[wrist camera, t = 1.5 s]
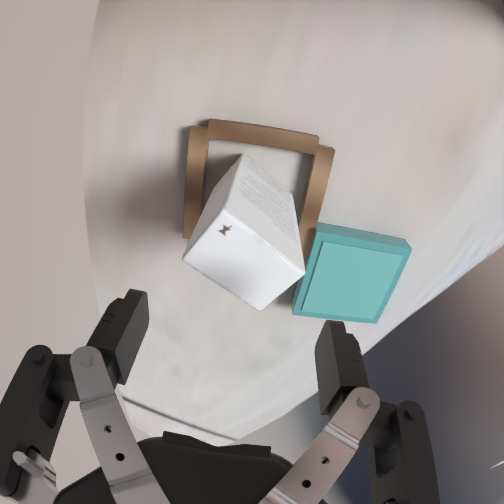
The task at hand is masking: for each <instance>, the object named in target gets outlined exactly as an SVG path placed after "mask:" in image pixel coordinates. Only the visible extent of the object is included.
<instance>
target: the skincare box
mask: <svg viewBox="0 0 504 504" xmlns="http://www.w3.org/2000/svg"><path fill="white" fill-rule="evenodd" d="M182 260H183V261H184V262H185V263H187V264H188V265H190V266H191V267H193V268H194V269H196V270H197V271H199V272H200V273H202V274H203V275H205V276H206V277H208V278H209V279H211V280H212V281H214V282H215V283H217V284H218V285H220V286H221V287H223V288H224V289H226V290H227V291H229V292H230V293H232V294H234V295H235V296H237V297H238V298H240V299H241V300H243V301H244V302H246V303H247V304H249V305H250V306H252V307H253V308H255V309H256V310H258V311H261V310H262V309H263V308H264V307H265V306H266V305H268V304H269V303H270V302H271V301H273V300H274V299H275V298H276V297H278V296H279V295H280V294H281V293H283V292H284V291H285V290H286V289H288V288H289V287H290V286H291V285H292V284H294V283H295V282H296V281H297V280H299V279H300V278H301V277H302V276H304V275H305V266H304V259H303V254H302V247H301V241H300V235H299V229H298V223H297V217H296V211H295V205H294V199H293V195H292V194H291V193H290V192H289V191H288V190H287V189H285V188H284V187H283V186H282V185H281V184H279V183H278V182H277V181H276V180H275V179H273V178H272V177H271V176H270V175H269V174H267V173H266V172H265V171H264V170H263V169H261V168H260V167H259V166H258V165H256V164H255V163H254V162H253V161H251V160H250V159H249V158H248V157H246V156H245V155H244V154H242V155H241V156H240V157H239V158H238V159H237V161H236V162H235V163H234V164H233V165H232V166H231V167H230V168H229V170H228V171H227V172H226V173H225V174H224V176H223V177H222V178H221V179H220V181H219V182H218V183H217V184H216V185H215V187H214V188H213V191H212V193H211V195H210V197H209V199H208V201H207V203H206V205H205V207H204V210H203V212H202V214H201V216H200V218H199V221H198V223H197V225H196V227H195V229H194V231H193V234H192V236H191V238H190V241H189V243H188V245H187V247H186V249H185V252H184V254H183V257H182Z"/></svg>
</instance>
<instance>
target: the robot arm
mask: <svg viewBox="0 0 504 504" xmlns="http://www.w3.org/2000/svg"><path fill="white" fill-rule="evenodd" d="M148 324H149V310H148V299H147V293H146V292H144V291H139V290H134V289H129V291H128V292H127V294H126V296H125V298H124V299H121V298H117V299H116V300H114V301H113V302H112V303H110V304H109V306H108V307H107V309H106V311H105V314H103V316H102V318H101V321H99V323H98V325H97V327H96V328H95V330H94V332H93V334H92V336H91V337H90V339H89V341H88V343H87V345H86V346H83V347H80V348H78V349H76V350H75V351H74V352H73V353H72V354H53V353H52V351H51V350H50V348H48V347H47V346H45V345H36V346H33V347H32V348H30V349H29V350H28V351H27V352H26V354H25V356H24V358H23V359H22V362H21V363H20V365H19V367H18V369H17V371H16V373H15V375H14V377H13V379H12V381H11V383H10V385H9V387H8V389H7V391H6V393H5V395H4V397H3V399H2V401H1V404H0V496H2V497H4V498H6V499H8V500H10V501H12V502H15V503H18V504H327V503H326V502H325V500H323V497H324V496H325V494H326V493H327V492H328V490H329V489H330V488H331V486H332V485H333V484H334V482H335V481H336V480H337V478H338V477H339V475H340V474H341V472H342V471H343V470H344V468H345V467H346V465H347V464H348V462H349V461H350V459H351V458H352V457H353V455H354V454H355V452H356V450H357V449H358V447H359V444H358V443H362V444H365V445H368V447H369V459H370V472H371V489H372V504H440V500H439V491H438V484H437V477H436V470H435V465H434V459H433V453H432V448H431V443H430V438H429V433H428V428H427V424H426V419H425V415H424V411H423V409H422V408H421V406H420V405H418V404H417V403H416V402H414V401H409V400H408V401H404V402H402V403H400V405H399V406H396V405H393V404H389V403H386V402H383V401H381V400H379V397H378V396H377V394H376V393H375V392H374V391H372V390H371V389H370V388H369V384H368V380H367V375H366V371H365V367H364V363H363V361H362V354H361V350H360V347H359V343H358V341H357V340H356V338H355V337H354V336H353V334H349V333H346V329H345V325H344V322H342V321H333V320H326V322H325V323H324V326H323V328H322V331H321V333H320V335H319V338H318V340H317V342H316V346H315V362H316V371H317V380H318V390H319V400H320V411H321V415H329V422H328V423H327V425H326V426H325V427H324V429H323V430H322V431H321V433H320V434H319V435H318V436H317V438H316V439H315V440H314V441H313V442H312V444H311V445H310V446H309V447H308V449H307V450H306V451H305V452H304V453H303V455H302V456H301V457H300V458H299V459H298V460H297V461H296V462H295V464H294V465H293V464H291V463H290V462H289V461H287V460H286V459H284V458H283V457H281V456H279V455H276V454H274V453H271V447H270V446H260V445H249V444H241V445H232V446H221V447H217V446H213V445H210V444H208V443H205V442H203V441H200V440H198V439H195V438H193V437H191V436H187V435H182V434H177V433H172V432H167V431H164V432H163V436H162V437H152V438H148V439H144V440H142V441H139V442H136V440H135V438H134V436H133V434H132V431H131V429H130V427H129V425H128V422H127V420H126V418H125V415H124V413H123V411H122V408H121V406H120V404H119V401H118V399H117V396H116V394H115V391H114V390H115V388H116V385H117V383H118V384H122V385H125V384H126V381H127V379H128V376H129V373H130V371H131V368H132V366H133V363H134V361H135V358H136V355H137V353H138V350H139V348H140V346H141V343H142V341H143V338H144V336H145V333H146V331H147V328H148ZM70 401H80V402H81V403H80V409H81V413H82V416H83V419H84V422H85V425H86V428H87V431H88V434H89V437H90V439H91V442H92V445H93V447H94V450H95V452H96V455H97V458H98V460H99V463H100V465H101V466H100V467H99V468H97V469H96V470H94V471H92V472H91V473H89V474H87V475H86V476H84V477H82V478H81V479H79V480H77V481H76V482H74V483H72V484H71V485H69V486H67V487H66V488H64V489H62V490H61V491H60V492H58V490H57V488H56V473H55V470H54V468H53V466H52V465H51V464H50V463H49V461H50V458H51V454H52V451H53V448H54V445H55V442H56V439H57V436H58V433H59V430H60V427H61V424H62V421H63V418H64V416H65V413H66V410H67V407H68V405H69V402H70Z"/></svg>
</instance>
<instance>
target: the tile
mask: <svg viewBox="0 0 504 504" xmlns="http://www.w3.org/2000/svg"><path fill="white" fill-rule="evenodd" d="M411 251H412V248H411V247H410V245H409V244H408V243H407V241H406V240H405V239H401V238H396V237H392V236H387V235H382V234H377V233H372V232H367V231H362V230H356V229H351V228H346V227H341V226H335V225H330V224H324V223H319V222H317V225H316V229H315V232H314V236H313V240H312V243H311V247H310V251H309V254H308V257H305V258H304V266H305V275H304V276H302V277H301V278H300V279H299V280H298V282H297V286H296V289H295V292H294V296H293V299H292V315H299V316H308V317H316V318H325V319H334V320H343V321H353V322H363V323H374V324H377V322H378V320H379V318H380V316H381V314H382V312H383V310H384V308H385V306H386V304H387V302H388V300H389V298H390V296H391V294H392V292H393V290H394V288H395V286H396V284H397V282H398V280H399V278H400V276H401V273H402V271H403V269H404V267H405V265H406V262H407V260H408V258H409V256H410V253H411Z"/></svg>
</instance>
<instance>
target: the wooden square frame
mask: <svg viewBox="0 0 504 504" xmlns="http://www.w3.org/2000/svg"><path fill="white" fill-rule="evenodd" d="M209 138H212V139H220V140H228V141H235V142H243V143H249V144H256V145H262V146H269V147H275V148H280V149H286V150H292V151H297V152H302V153H307V154H312V155H313V159H312V163H311V168H310V172H309V177H308V181H307V186H306V190H305V194H304V199H303V203H302V207H301V212H300V216H299V220H298V229H299V235H300V241H301V247H302V254H303V257H308V254H309V251H310V247H311V243H312V240H313V236H314V232H315V229H316V225H317V221H318V218H319V214H320V210H321V206H322V202H323V198H324V194H325V190H326V187H327V182H328V178H329V174H330V170H331V166H332V162H333V158H334V153H335V150H334V149H333V148H332V147H328V146H323V145H319V144H318V143H319V137H318V136H317V135H312V134H307V133H302V132H297V131H292V130H286V129H281V128H275V127H269V126H263V125H256V124H249V123H242V122H235V121H227V120H218V119H210V120H209V123H208V127H204V126H194V125H193V126H192V127H190V132H189V143H188V154H187V167H186V181H185V198H184V217H183V238H185V239H190V238H191V236H192V234H193V231H194V229H195V227H196V225H197V223H198V221H199V218H200V216H201V214H202V208H203V196H204V185H205V174H206V164H207V154H208V145H209Z"/></svg>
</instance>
